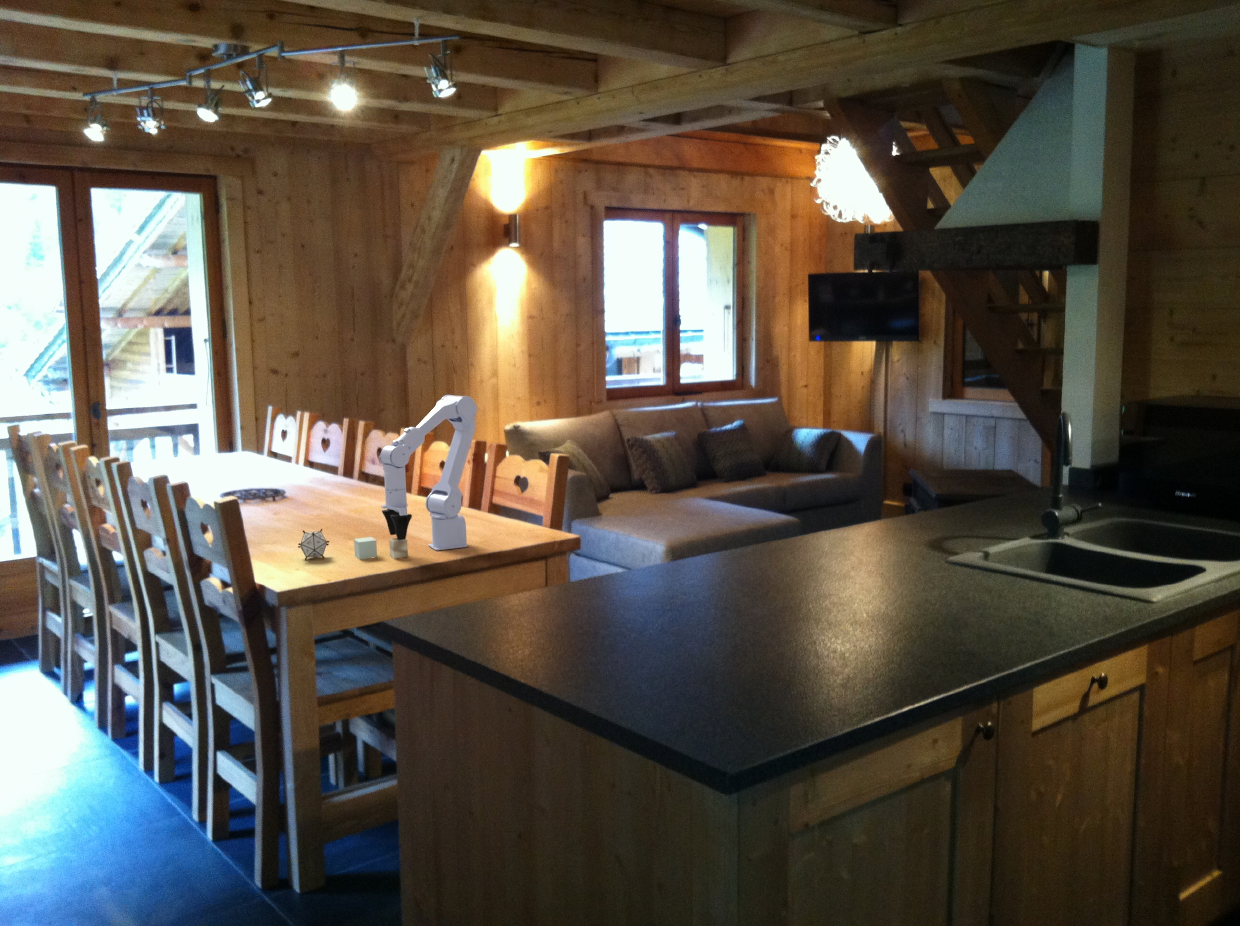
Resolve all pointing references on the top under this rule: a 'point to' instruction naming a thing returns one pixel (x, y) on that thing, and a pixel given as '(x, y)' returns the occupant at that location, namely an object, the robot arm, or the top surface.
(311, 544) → the game die
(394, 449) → the robot arm
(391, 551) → the birch block
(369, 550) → the base block
